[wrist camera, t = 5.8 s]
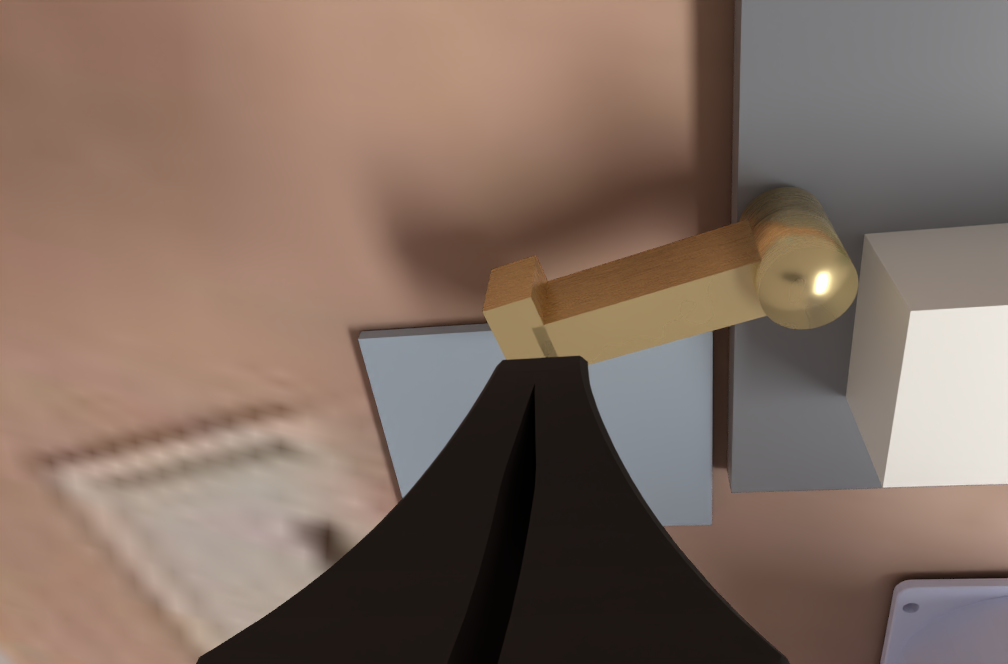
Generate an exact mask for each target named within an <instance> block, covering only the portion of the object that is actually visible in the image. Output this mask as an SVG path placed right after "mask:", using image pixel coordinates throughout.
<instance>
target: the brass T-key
mask: <svg viewBox="0 0 1008 664" xmlns="http://www.w3.org/2000/svg"><path fill="white" fill-rule="evenodd" d="M857 290H858V275H857V272H856V269H855V267H854V265H853V263H852V261H851V260H850V258H849V256H848V254H847V252H846V250H845V248H844V247H843V245H842V243H841V241H840V239H839V237H838V235H837V233H836V232H835V230H834V228H833V226H832V224H831V222H830V220H829V219H828V217H827V215H826V213H825V211H824V209H823V207H822V205H821V204H820V202H819V201H818V199H817V198H816V197H815V196H813V195H812V194H811V193H809V192H807V191H805V190H802V189H799V188H795V187H780V188H775V189H771V190H769V191H766V192H764V193H762V194H760V195H759V196H757V197H756V198H755V199H754V200H752V201H751V202H750V203H749V204H748V206H747V207H746V208H745V210H744V211H743V213H742V215H741V218H740V221H739V222H737V223H734V224H731V225H727V226H724V227H721V228H718V229H715V230H711V231H708V232H705V233H702V234H699V235H695V236H692V237H689V238H686V239H683V240H679V241H676V242H673V243H670V244H666V245H663V246H660V247H657V248H654V249H650V250H647V251H644V252H641V253H638V254H634V255H631V256H628V257H625V258H622V259H618V260H615V261H612V262H609V263H605V264H602V265H599V266H596V267H593V268H589V269H586V270H583V271H580V272H577V273H573V274H570V275H567V276H564V277H561V278H557V279H554V280H551V281H547V278H546V276H545V274H544V272H543V269H542V267H541V265H540V263H539V260H538V258H537V256H536V255H534V256H531V257H528V258H525V259H522V260H519V261H516V262H513V263H510V264H506V265H503V266H500V267H497V268H494V269H491V274H490V279H489V283H488V288H487V293H486V297H485V302H484V307H483V311H482V312H483V314H484V316H485V318H486V320H487V322H488V324H489V326H490V328H491V330H492V332H493V334H494V336H495V338H496V340H497V342H498V344H499V346H500V348H501V350H502V352H503V354H504V356H505V358H506V360H510V359H528V358H546V357H563V356H581V357H583V358H584V359H585V360H586V361H588V365H590V364H594V363H597V362H601V361H605V360H608V359H612V358H615V357H619V356H623V355H626V354H630V353H634V352H637V351H641V350H644V349H648V348H652V347H655V346H659V345H663V344H666V343H670V342H673V341H677V340H681V339H684V338H688V337H692V336H695V335H699V334H702V333H706V332H710V331H713V330H717V329H720V328H724V327H728V326H731V325H735V324H739V323H742V322H746V321H749V320H753V319H757V318H760V317H764V316H768V317H769V318H770V319H771V320H772V321H774V322H775V323H777V324H779V325H781V326H784V327H787V328H792V329H812V328H816V327H820V326H823V325H825V324H828V323H830V322H832V321H833V320H835V319H837V318H838V317H839V316H841V315H842V314H843V313H844V312H845V311H846V310H847V309H848V308H849V307H850V305H851V304H852V302H853V300H854V299H855V296H856V294H857Z"/></svg>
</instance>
